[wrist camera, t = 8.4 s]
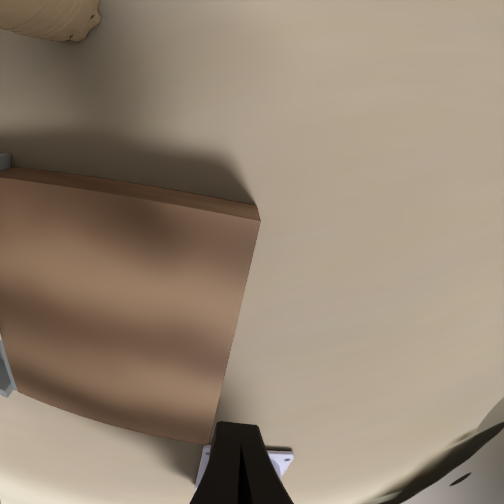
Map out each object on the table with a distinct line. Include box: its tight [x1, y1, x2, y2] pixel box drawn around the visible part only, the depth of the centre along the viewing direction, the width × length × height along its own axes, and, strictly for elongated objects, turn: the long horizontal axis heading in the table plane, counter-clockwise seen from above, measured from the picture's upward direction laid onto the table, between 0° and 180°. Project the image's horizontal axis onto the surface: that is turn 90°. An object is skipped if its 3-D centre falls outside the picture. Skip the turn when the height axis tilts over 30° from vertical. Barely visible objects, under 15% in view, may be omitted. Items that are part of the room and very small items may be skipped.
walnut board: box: [0, 167, 261, 445], centre depth 17 cm, size 16×15×3 cm
